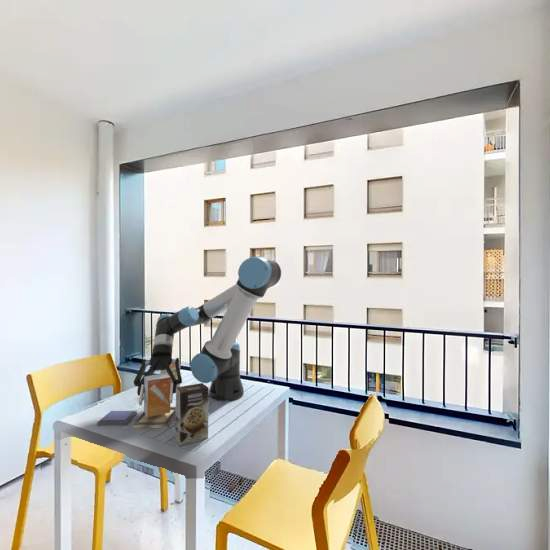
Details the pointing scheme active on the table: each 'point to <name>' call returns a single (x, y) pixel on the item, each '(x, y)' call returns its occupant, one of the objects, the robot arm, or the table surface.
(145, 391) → the small box
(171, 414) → the board
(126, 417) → the ink pad
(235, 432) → the table surface
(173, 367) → the supplement box
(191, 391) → the coffee box
